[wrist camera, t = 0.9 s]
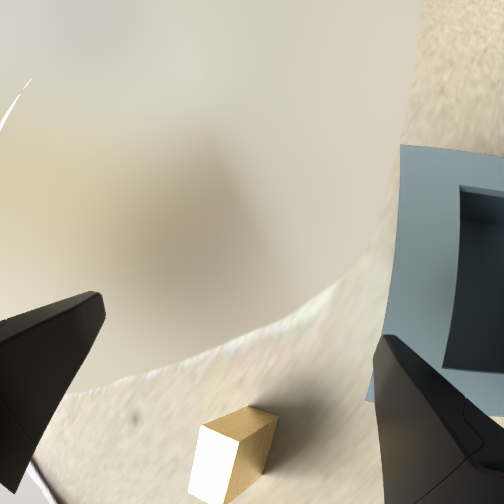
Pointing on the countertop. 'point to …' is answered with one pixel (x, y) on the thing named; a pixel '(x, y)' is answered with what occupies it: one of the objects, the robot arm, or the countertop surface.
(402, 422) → the robot arm
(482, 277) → the coin box
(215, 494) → the block
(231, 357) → the countertop surface
